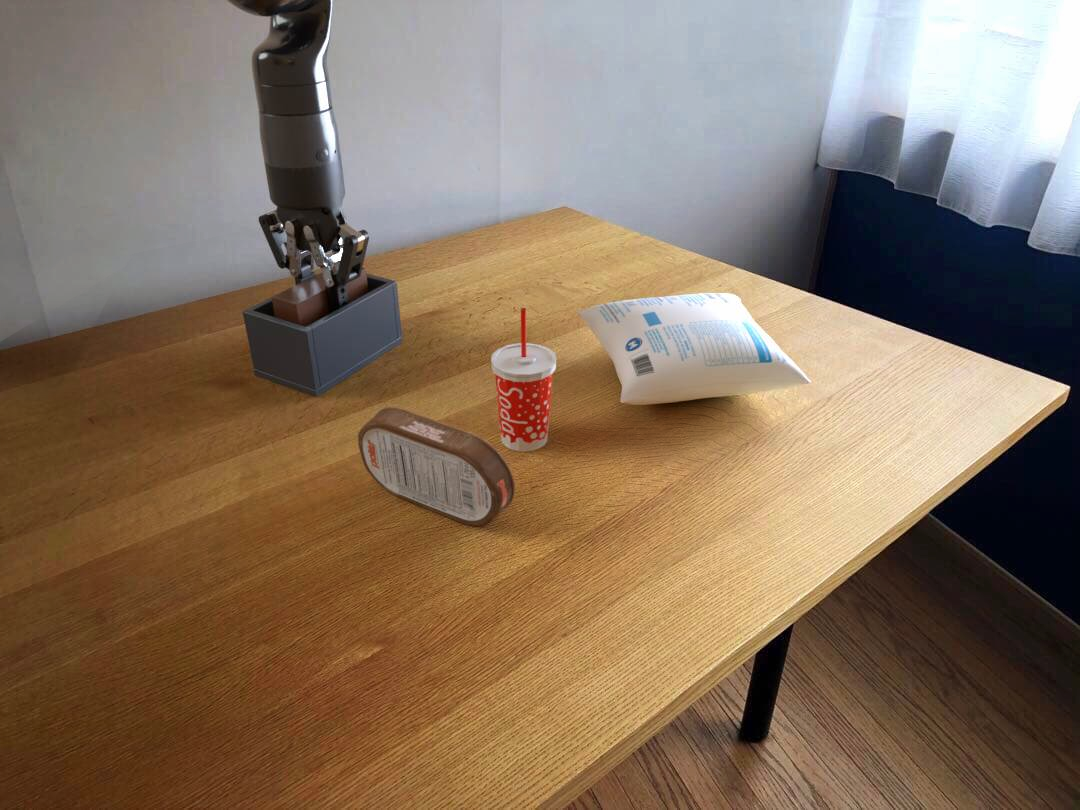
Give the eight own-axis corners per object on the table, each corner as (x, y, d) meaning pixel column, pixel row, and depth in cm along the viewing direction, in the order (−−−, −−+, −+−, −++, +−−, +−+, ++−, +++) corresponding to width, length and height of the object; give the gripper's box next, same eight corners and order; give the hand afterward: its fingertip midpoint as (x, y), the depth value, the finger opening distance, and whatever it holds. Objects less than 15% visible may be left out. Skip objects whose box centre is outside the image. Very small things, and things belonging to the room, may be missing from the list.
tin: (517, 523, 74) (516, 442, 69) (497, 544, 71) (495, 461, 67) (380, 469, 80) (371, 392, 76) (357, 487, 78) (347, 408, 73)
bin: (316, 397, 91) (306, 331, 87) (254, 375, 95) (241, 311, 91) (402, 342, 102) (397, 281, 98) (343, 324, 106) (336, 265, 101)
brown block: (346, 294, 100) (342, 262, 98) (369, 300, 99) (365, 268, 97) (277, 331, 92) (271, 296, 90) (301, 338, 91) (296, 304, 88)
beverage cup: (481, 433, 85) (476, 304, 78) (533, 415, 88) (533, 289, 81) (514, 463, 81) (512, 330, 74) (567, 443, 84) (570, 313, 76)
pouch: (621, 364, 81) (818, 338, 84) (575, 288, 98) (741, 268, 101) (620, 434, 85) (808, 408, 88) (576, 350, 102) (736, 330, 105)
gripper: (381, 155, 86) (396, 312, 95) (278, 135, 92) (300, 284, 101) (330, 174, 80) (350, 339, 89) (223, 152, 86) (252, 308, 95)
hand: (324, 309), depth 95 cm, fingers closed on brown block, 3 cm apart
